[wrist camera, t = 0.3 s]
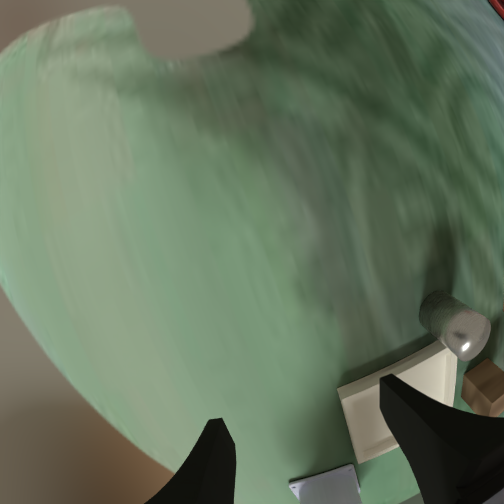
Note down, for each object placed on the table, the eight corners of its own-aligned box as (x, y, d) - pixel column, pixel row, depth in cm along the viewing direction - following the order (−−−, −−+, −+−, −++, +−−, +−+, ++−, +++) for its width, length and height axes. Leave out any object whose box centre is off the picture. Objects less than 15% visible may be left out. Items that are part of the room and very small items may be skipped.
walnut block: (483, 380, 24) (509, 405, 18) (460, 396, 24) (485, 425, 18) (487, 357, 23) (516, 382, 17) (463, 374, 23) (492, 403, 18)
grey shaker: (450, 317, 22) (489, 346, 16) (420, 334, 22) (456, 369, 16) (448, 284, 21) (491, 309, 15) (417, 300, 21) (458, 331, 15)
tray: (445, 409, 24) (451, 417, 23) (354, 454, 25) (358, 464, 24) (448, 333, 22) (457, 340, 20) (336, 388, 23) (341, 399, 21)
